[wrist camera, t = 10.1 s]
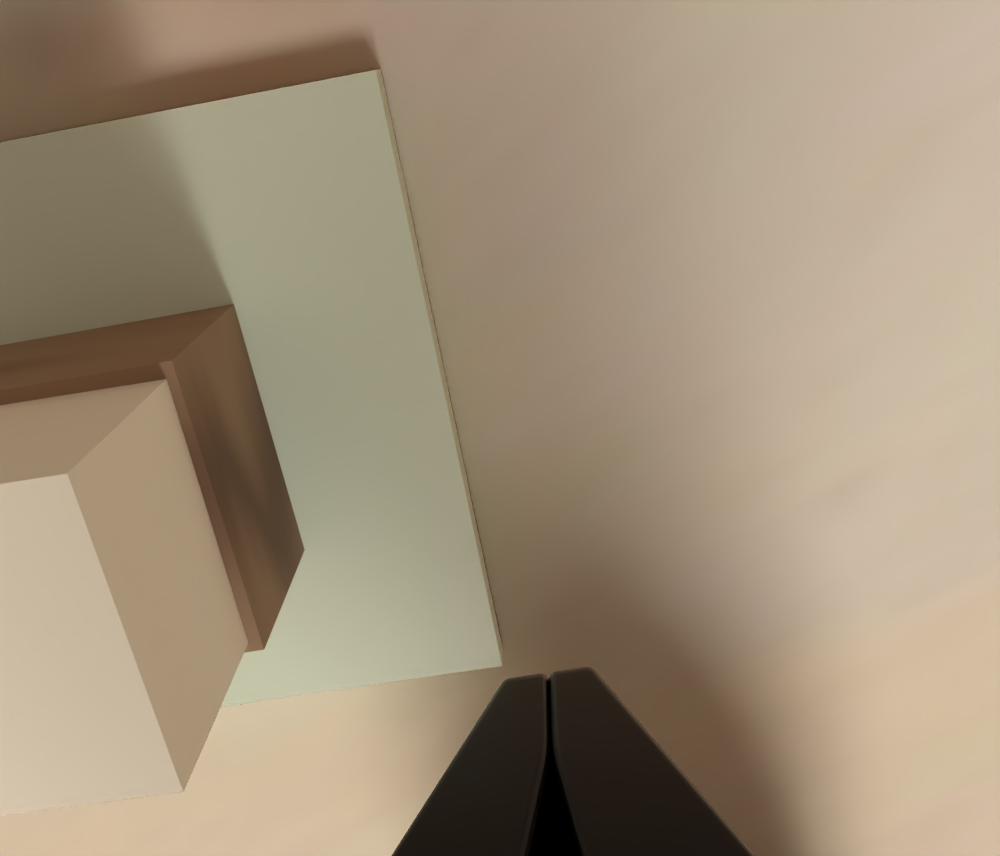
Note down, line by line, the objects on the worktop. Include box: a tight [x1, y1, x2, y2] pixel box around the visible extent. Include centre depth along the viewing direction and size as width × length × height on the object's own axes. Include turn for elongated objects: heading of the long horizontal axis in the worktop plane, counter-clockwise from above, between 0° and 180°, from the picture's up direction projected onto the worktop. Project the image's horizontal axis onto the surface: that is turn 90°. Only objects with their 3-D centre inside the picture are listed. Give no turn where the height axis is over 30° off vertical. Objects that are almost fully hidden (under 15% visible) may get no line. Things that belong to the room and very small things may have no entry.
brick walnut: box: [0, 304, 305, 653], centre depth 19 cm, size 6×6×4 cm
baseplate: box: [0, 69, 502, 707], centre depth 22 cm, size 14×14×1 cm
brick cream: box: [0, 379, 248, 816], centre depth 16 cm, size 6×6×4 cm
